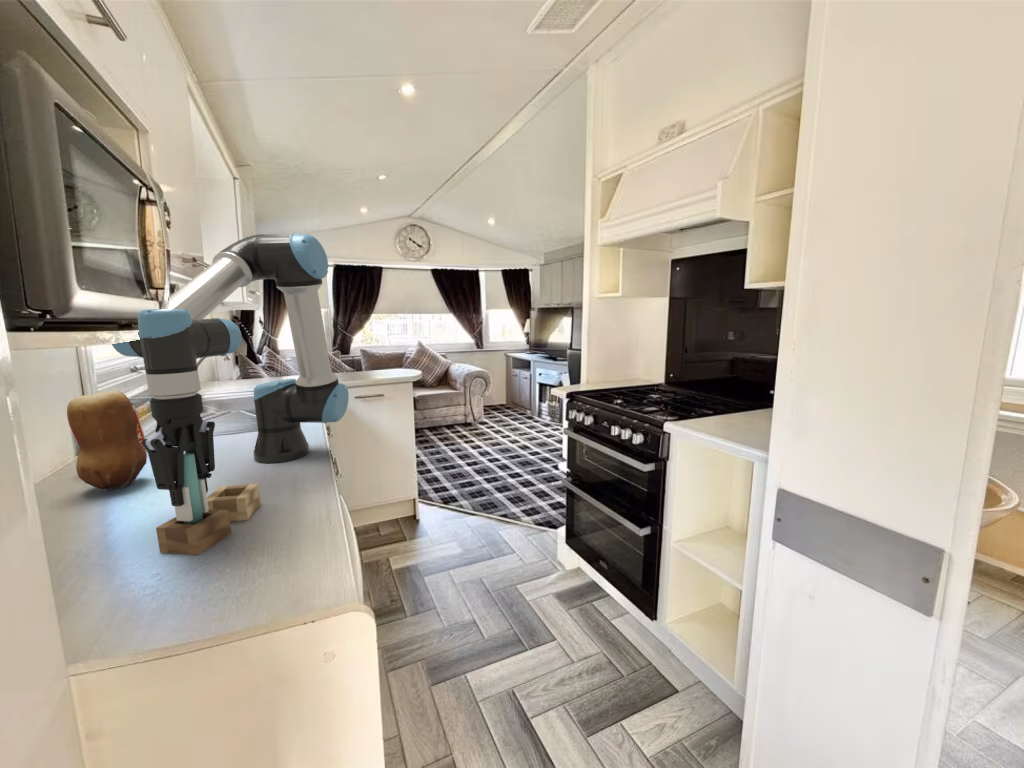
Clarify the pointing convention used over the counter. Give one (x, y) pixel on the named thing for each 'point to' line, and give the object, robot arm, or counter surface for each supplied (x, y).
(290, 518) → the counter surface
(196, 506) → the teal cylindrical rod
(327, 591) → the counter surface
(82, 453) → the butternut squash
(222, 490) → the light wooden square frame
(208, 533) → the brown wooden square frame
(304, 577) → the counter surface
